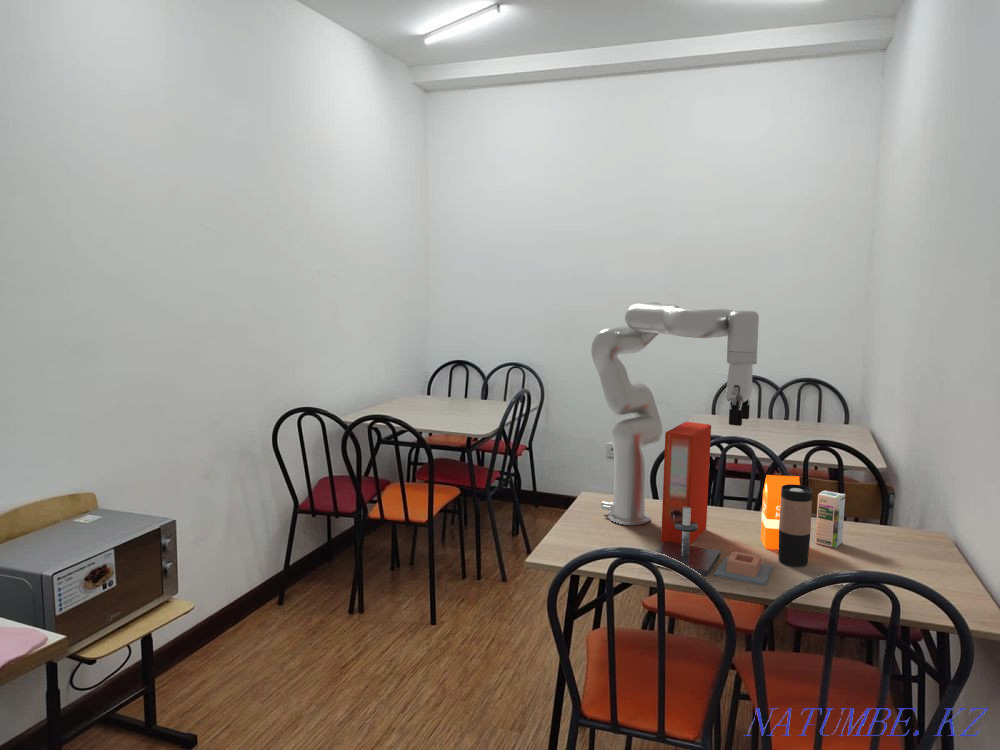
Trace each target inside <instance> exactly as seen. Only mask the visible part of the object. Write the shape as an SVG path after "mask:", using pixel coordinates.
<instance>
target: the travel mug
mask: <svg viewBox="0 0 1000 750" xmlns="http://www.w3.org/2000/svg"><path fill="white" fill-rule="evenodd" d="M812 507H813V489H812V488H811V487H809V486H806V485H802V484H800V485H795V484H788V485H783V486H782V488H781V504H780V520H779V550H778V561H779V563H780V564H782V565H785V566H788V567H792V568H804V567H806V566H808V564H809V563H808V562H809V554H810V553H809V552H810V543H811V542H810V541H811V532H812V530H811V528H812V513H813V512H812V509H813V508H812Z"/></svg>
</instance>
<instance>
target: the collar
mask: <svg viewBox="0 0 1000 750" xmlns="http://www.w3.org/2000/svg"><path fill="white" fill-rule="evenodd" d="M727 558H728V560H727V572H731V573H736V574H741V575H746V576H751V577H756V576H757V574H758V572H759V570H760V568H761V564H762V556H761V555H757V554H750V553H744V552H739V551H734V550H733V551H732V552H731V554H730V555H729V556H728V557H727Z"/></svg>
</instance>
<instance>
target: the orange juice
mask: <svg viewBox="0 0 1000 750" xmlns="http://www.w3.org/2000/svg"><path fill="white" fill-rule="evenodd" d="M788 484H795V485H801V483H800V476H795V475H793V476H792V475H774V474H766V477H765V481H764V486H763V489H762V505H761V506H762V507H761V527H760V528H761V529H760V541H761V542H762V546H763V547H765V548H764V549H765V550H775V549H778V551H779V520H780V504H781V488H782V486H783V485H788Z"/></svg>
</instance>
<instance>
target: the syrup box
mask: <svg viewBox="0 0 1000 750" xmlns="http://www.w3.org/2000/svg"><path fill="white" fill-rule="evenodd" d="M845 504H846V493H839V492H835V491H829V490H822V491H821V492H819V493H818V494H817V506H816V507H817V508H816V528H815V539H814V540H815V541H814V543H815V544H817V545H821V546H825V547H829V548H833V549H836V548H838V547H839V546H840V545H842V543H843V532H844V522H845V521H844V520H845Z"/></svg>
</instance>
